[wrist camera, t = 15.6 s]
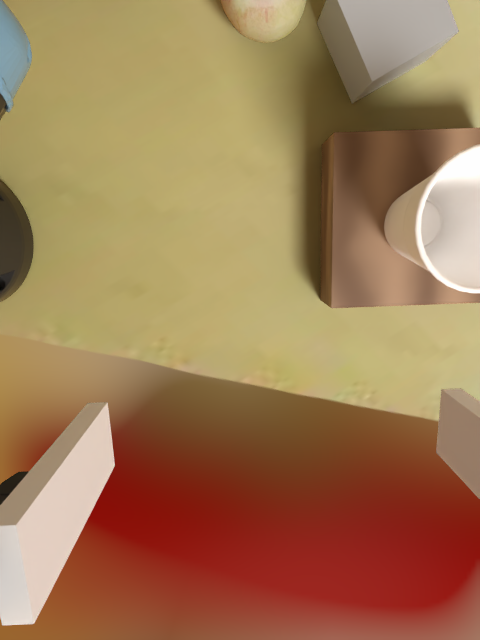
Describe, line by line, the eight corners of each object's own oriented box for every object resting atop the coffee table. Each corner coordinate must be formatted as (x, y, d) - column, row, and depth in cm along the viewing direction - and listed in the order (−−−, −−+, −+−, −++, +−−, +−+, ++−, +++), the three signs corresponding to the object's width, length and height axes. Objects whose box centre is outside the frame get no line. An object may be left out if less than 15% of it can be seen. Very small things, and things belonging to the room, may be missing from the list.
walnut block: (320, 299, 44) (331, 308, 39) (321, 144, 40) (334, 132, 35) (464, 294, 44) (493, 302, 39) (477, 139, 40) (511, 126, 35)
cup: (444, 288, 38) (526, 309, 28) (348, 261, 38) (394, 272, 27) (483, 185, 36) (588, 165, 26) (383, 155, 36) (447, 121, 25)
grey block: (351, 104, 40) (372, 81, 34) (316, 24, 38) (331, -14, 32) (424, 61, 39) (458, 31, 33) (392, -22, 37) (421, -69, 31)
